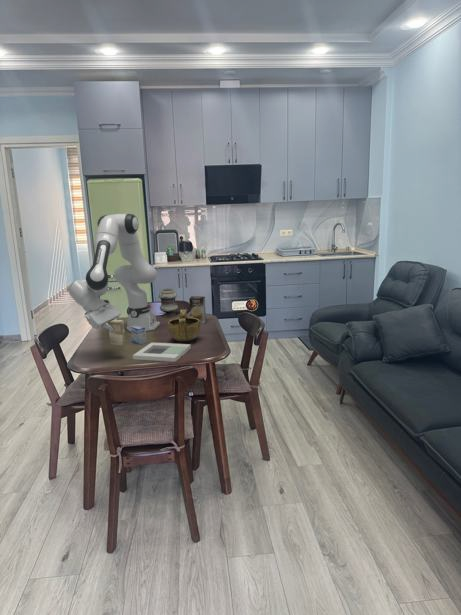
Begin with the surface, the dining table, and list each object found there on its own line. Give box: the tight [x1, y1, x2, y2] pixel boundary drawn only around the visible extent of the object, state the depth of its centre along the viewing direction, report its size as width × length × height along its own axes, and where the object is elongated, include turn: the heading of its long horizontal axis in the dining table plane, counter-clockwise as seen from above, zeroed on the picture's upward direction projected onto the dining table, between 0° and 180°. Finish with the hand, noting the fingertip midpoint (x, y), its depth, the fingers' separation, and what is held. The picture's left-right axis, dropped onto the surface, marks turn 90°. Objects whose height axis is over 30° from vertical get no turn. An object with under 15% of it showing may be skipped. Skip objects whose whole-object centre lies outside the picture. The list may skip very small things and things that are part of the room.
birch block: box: [108, 319, 127, 346], centre depth 201 cm, size 4×6×11 cm, turn 74°
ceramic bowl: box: [167, 308, 201, 343], centre depth 225 cm, size 22×17×15 cm
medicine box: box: [130, 326, 147, 345], centre depth 226 cm, size 8×4×9 cm, turn 44°
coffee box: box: [188, 296, 207, 324], centre depth 261 cm, size 9×6×16 cm
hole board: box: [132, 342, 192, 363], centre depth 207 cm, size 20×22×2 cm
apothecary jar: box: [158, 288, 179, 318], centre depth 281 cm, size 12×12×18 cm
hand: (115, 328), depth 201 cm, fingers closed on birch block, 4 cm apart
